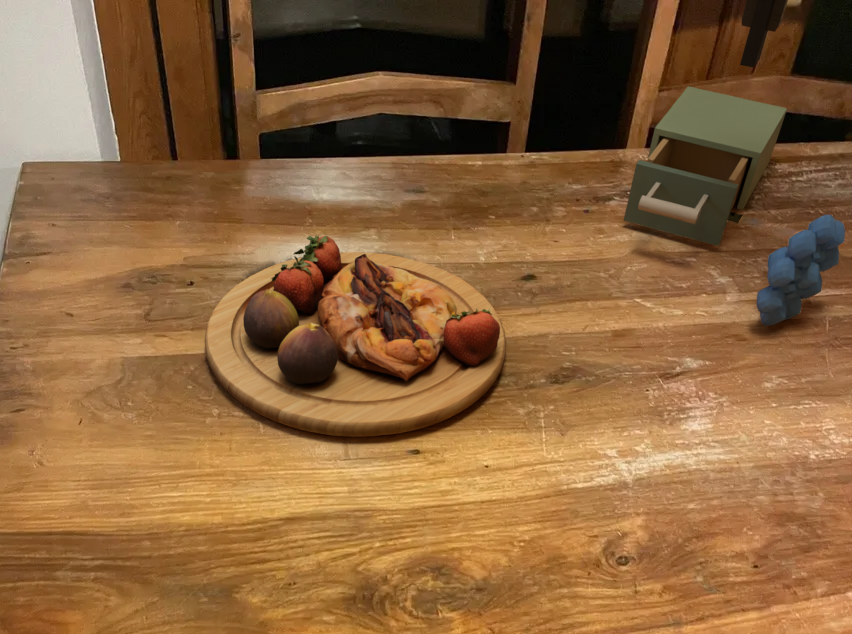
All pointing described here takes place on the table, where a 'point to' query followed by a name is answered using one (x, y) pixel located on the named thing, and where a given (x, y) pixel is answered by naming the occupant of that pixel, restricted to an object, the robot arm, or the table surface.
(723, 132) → the cabinet
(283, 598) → the table surface
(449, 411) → the wooden plate
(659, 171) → the drawer
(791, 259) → the grapes
